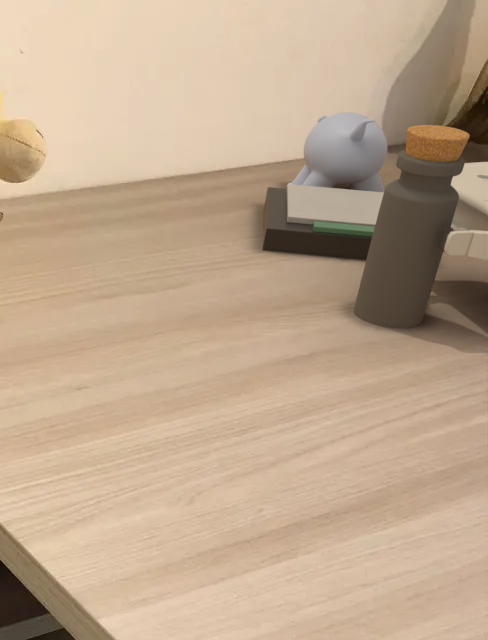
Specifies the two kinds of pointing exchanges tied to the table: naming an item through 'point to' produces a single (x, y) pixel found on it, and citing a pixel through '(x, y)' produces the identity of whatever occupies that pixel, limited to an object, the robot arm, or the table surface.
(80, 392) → the table surface
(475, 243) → the robot arm
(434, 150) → the bottle
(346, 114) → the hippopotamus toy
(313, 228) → the scale
